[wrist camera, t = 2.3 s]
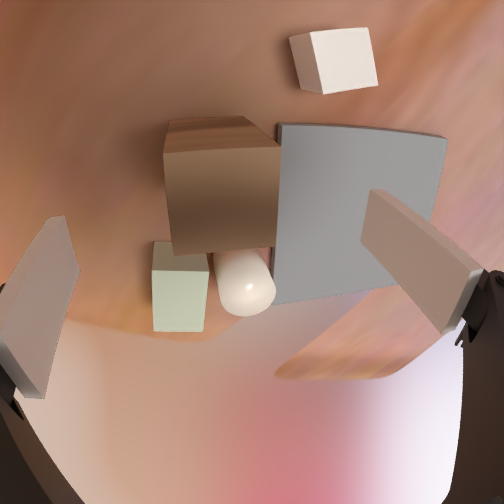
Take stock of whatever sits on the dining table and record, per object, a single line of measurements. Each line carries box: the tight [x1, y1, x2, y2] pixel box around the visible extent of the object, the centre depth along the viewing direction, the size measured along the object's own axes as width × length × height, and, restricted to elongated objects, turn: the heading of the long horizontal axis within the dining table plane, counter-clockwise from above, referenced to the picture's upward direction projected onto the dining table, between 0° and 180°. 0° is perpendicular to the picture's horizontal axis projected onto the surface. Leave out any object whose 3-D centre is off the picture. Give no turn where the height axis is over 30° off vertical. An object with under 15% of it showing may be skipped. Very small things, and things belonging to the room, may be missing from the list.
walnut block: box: [163, 116, 281, 256], centre depth 18 cm, size 5×5×9 cm
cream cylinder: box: [213, 248, 276, 316], centre depth 25 cm, size 4×4×5 cm
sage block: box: [152, 241, 209, 332], centre depth 25 cm, size 6×4×4 cm, turn 171°
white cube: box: [288, 27, 378, 94], centre depth 18 cm, size 4×4×4 cm
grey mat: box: [270, 123, 448, 305], centre depth 27 cm, size 16×16×1 cm
